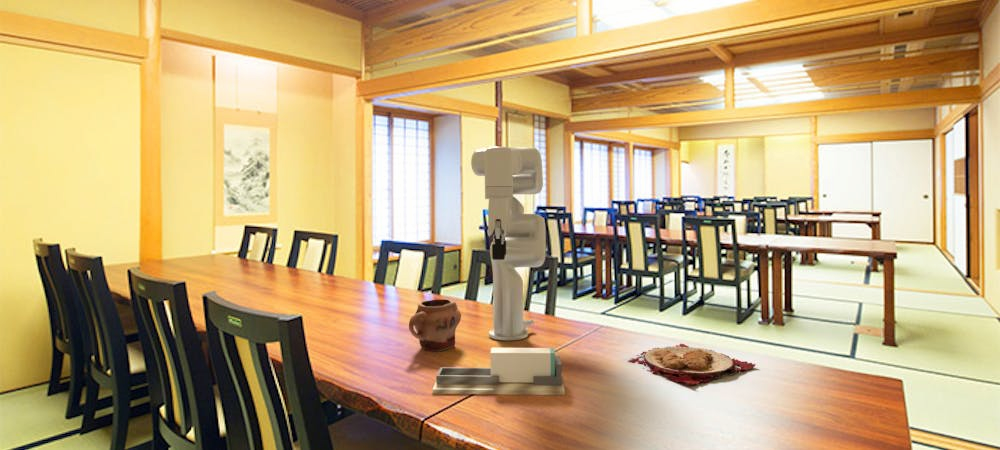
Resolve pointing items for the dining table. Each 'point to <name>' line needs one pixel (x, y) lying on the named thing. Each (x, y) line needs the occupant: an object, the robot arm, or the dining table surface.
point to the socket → (550, 380)
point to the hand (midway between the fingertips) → (499, 257)
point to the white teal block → (522, 363)
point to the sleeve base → (485, 383)
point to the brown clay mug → (435, 324)
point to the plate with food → (690, 363)
